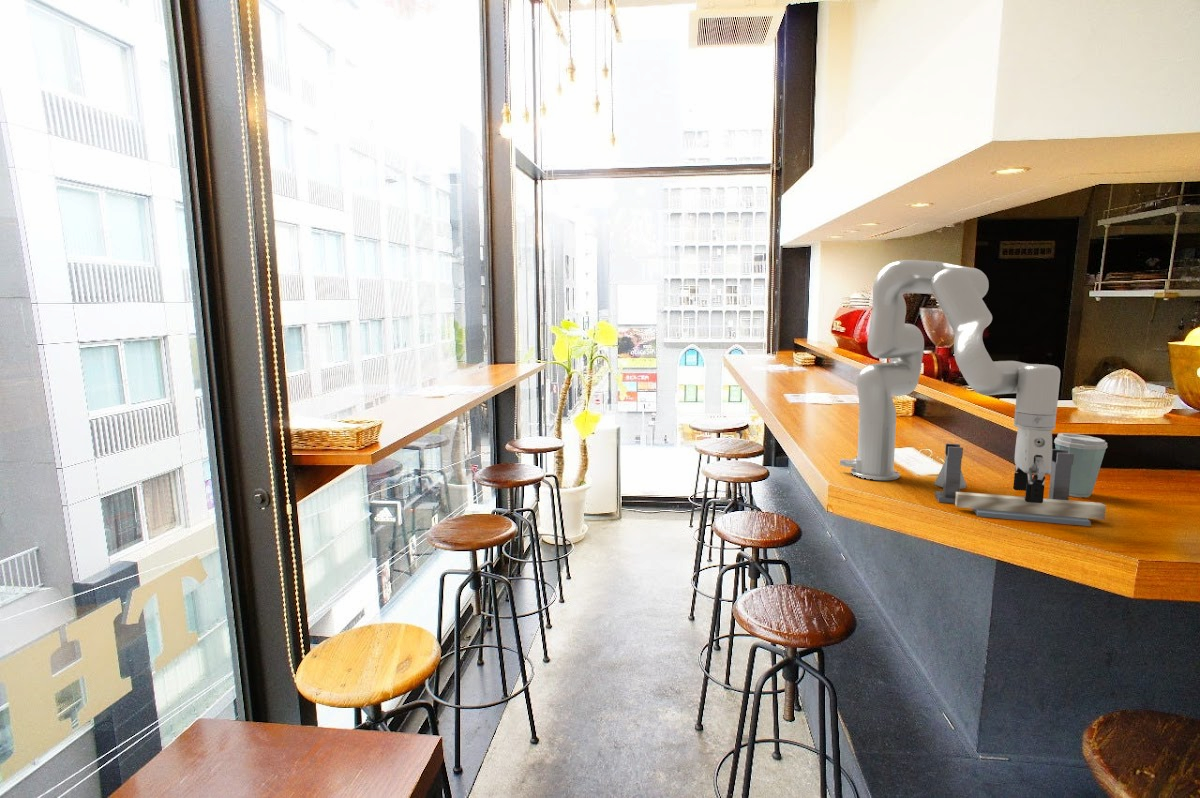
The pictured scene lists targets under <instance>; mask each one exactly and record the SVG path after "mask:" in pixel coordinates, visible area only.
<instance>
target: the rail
mask: <svg viewBox="0 0 1200 798" xmlns="http://www.w3.org/2000/svg"><path fill="white" fill-rule="evenodd" d="M955 507H956V508H964V509H972V508H973V509H984V510H996V511H1008V512H1020V513H1031V514H1043V515H1055V516H1067V517H1079V518H1087V519H1093V520H1102V521H1104V520H1105V519H1106V510H1107V505H1106V504H1103V502H1094V501H1080V500H1070V499H1068V500H1057V499H1049V498H1044V497H1043V503H1032V502H1026V501H1025V496H1018V495H1017V496H1016V495H1004V494H992V493H991V494H990V493H979V492H966V491H965V492H963V491H959V492H956V497H955ZM973 509H972V510H973Z"/></svg>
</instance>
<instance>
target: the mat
mask: <svg viewBox="0 0 1200 798" xmlns="http://www.w3.org/2000/svg"><path fill="white" fill-rule="evenodd" d="M971 509H972V510H973V512H974V513H975V515H976V516H977V517H978V518H979V517H981V518H993V519H1004V520H1014V521H1026V522H1038V523H1048V524H1061V525H1073V526H1083V527H1084V526H1085V527H1091V523H1092V522H1091V521H1090V520H1089V518H1079V517H1067V516H1055V515H1043V514H1031V513H1020V512H1008V511H996V510H984V509H973V508H971Z"/></svg>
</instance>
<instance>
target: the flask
mask: <svg viewBox="0 0 1200 798" xmlns="http://www.w3.org/2000/svg"><path fill="white" fill-rule="evenodd" d="M944 471H945V461H944V463H943V464H942V467H941V469H940V470H939V473H938V475H937V477H936V479H935V481H934V484H933V485H935V486H937V487H941V488H943V487H944ZM967 487H968V485H967V482H966V480H965V477H964V475H963V472H962V470H961V476H960V490H962V489H965V488H967Z"/></svg>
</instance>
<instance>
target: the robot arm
mask: <svg viewBox="0 0 1200 798" xmlns="http://www.w3.org/2000/svg"><path fill="white" fill-rule="evenodd" d="M989 284H990V283H989V279H988V277H987V275H986V274H985V273H984V272H983V271H982V270H981V269H978V268H976V267H970V266H969V267H968V266H963V265H960V264H959V265H958V264H954V263H953V264H952V263H948V262H942V261H936V260H920V259H901V260H895V261H893V262H890V263H888V264H886V265H885V266H883V267H882V268H881V269H880V270H879V271H878V273H877V274H876V276H875V279H874V280H873V287H872V309H871V314H870V321H869V328H868V335H867V337H868V338H867V351H868V353H869V354H870V355H871V356H872V357H874V358H876V359H884V360H885V359H890V362H877V363H872V364H868V365H866V366H864V367H863V368H862V369H860V370H859V372H858V374H857V378H856V388H857V395H858V402H859V403H858V407H859V408H858V430H857V431H858V435H857V439H858V440H857V454H856V455H857V456H855V458H851V459H846V458H840V460H839V466H842V467H843V466H844V467H845V468H851V469H850V474H851V473H852V474H853V475H852V474H851V475H852V476H854V475H856V476H858V477H857V478H859V477H861V478H860V479H864V478H866V479H865V480H870V479H873V481H894V480H898V479H899V478H900V474H901V473H900V472H899V471H898V470H896V469H894V466H895V451H896V449H895V448H896V429H897V409H896V406H895V403H894V400H893V397H902V396H906V395H909V394H911V393H913V392H914V391H915V390H916V389H917V387H918V384H919V381H920V376H921V370H922V364H923V358H924V357H923V356H924V351H925V339H924V338H925V337H924V335H923V333H922V331H921V329H920V328H919V327H918V326H916V325H915V324H912V323H906V315H907V304H906V300H905V298H904V296H903V295H904V294H926V295H927V294H928V295H929V294H930V295H933V296H934V299H935V300H936V302H937V305H939V308H940V310H941V311H942V314H944V316H945V319H946V320H947V322H948V324H949V325H950V327H951V329H952V331H953V333H954V340H953V354H954V359H955V362H956V365H957V367H958V369H959V371H960V373H961V374H962V377H963V378H964V380H965V381H966V383H967V385H968V386H969V387H970V388H971V389H972V390H973V391H974V392H976V394H979V395H984V396H996V395H1007V394H1009V395H1010V394H1016V396H1015V407H1014V408H1015V409H1014V420H1013V426H1014V427H1016V428H1017V431H1016V433H1017V434H1016V441H1015V446H1014V447H1015V448H1014V464H1015V467H1014V477H1013V490H1014V491H1023V492H1025V495H1024V497H1025V501H1026V502H1032V503H1043V498H1044V495H1045V486H1046V483H1045V482H1046V476H1049V475H1051V464H1052V449H1053V433H1052V432H1053V430H1055V429H1056V422H1057V411H1058V401H1059V395H1060V394H1059V392H1060V383H1061V370H1060V368H1059V367H1058V366H1055V365H1051V364H1044V363H1043V364H1041V363H1040V364H1039V363H1026V362H1021V361H1018V360H1017V361H1016V360H998V361H993V360H992V358H991V356H990V354H989V352H988V351H987V349H986V347H985V344H984V341H983V336H984V335H983V334H984V331H985V329H986V328H987V327H989V326H990V324H991V323H992V321H993V315H992V313H991V311H990V310H989V308H988V307H987V304H986V303H985V301H984V300H983V298H984V297H985V296H986V295H987V294H988V291H989V287H990V286H989ZM856 476H855V477H856Z"/></svg>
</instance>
